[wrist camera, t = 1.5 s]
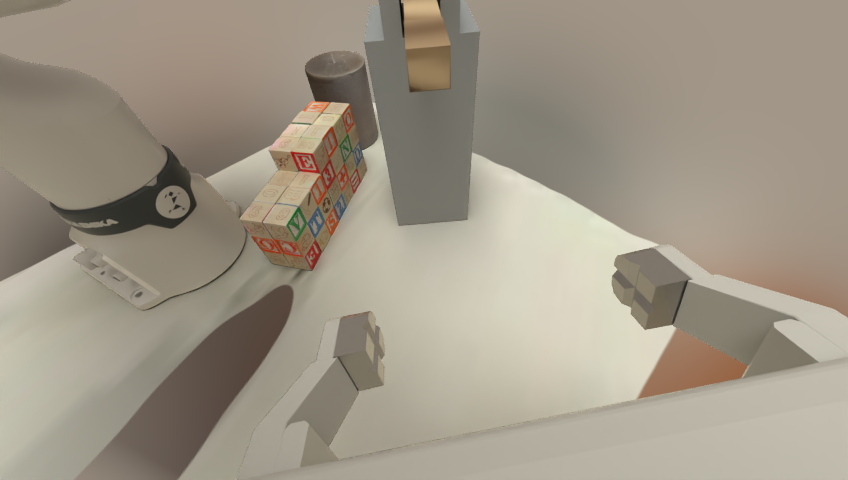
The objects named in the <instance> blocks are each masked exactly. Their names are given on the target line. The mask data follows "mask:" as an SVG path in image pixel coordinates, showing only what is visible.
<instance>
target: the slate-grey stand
mask: <svg viewBox="0 0 848 480" xmlns="http://www.w3.org/2000/svg"><path fill="white" fill-rule="evenodd" d="M437 3H438V6H439V10H440V13H441V17H443V20H444V24H445V27H446V31H447V34H448V37H449V41H450V44H451V89H445V90H433V91H422V92H411V93H410V91H409V81H408V71H407V61H406V51H405V34H404V21H405V20H404V4H403V3H401V0H379V5H376V6H370V8H369V14H368V21H367V27H366V33H365V40H364V44H365V49H366V55H367V60H368V65H369V71H370V76H371V81H372V87H373V92H374V97H375V103H376V108H377V113H378V119H379V124H380V129H381V134H382V140H383V145H384V150H385V156H386V161H387V166H388V172H389V177H390V182H391V187H392V193H393V198H394V203H395V209H396V214H397V219H398V225H399V226H400V225H411V224H423V223H435V222H446V221H458V220H467V214H468V199H469V184H470V169H471V155H472V140H473V125H474V110H475V95H476V81H477V80H476V79H477V66H478V51H479V36H480V31H479V29H478V27H477V25H476V23H475V20H474V18H473V16H472V14H471V12H470V10H469V7H468V5H467V4H466V1H465V0H437Z"/></svg>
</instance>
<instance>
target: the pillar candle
mask: <svg viewBox="0 0 848 480" xmlns="http://www.w3.org/2000/svg"><path fill="white" fill-rule="evenodd" d="M305 72H306V75H307V77H308V81H309V84H310V87H311V90H312V93H313V96H314V99H315V102H329V103H331V102H334V103H348V104H350V106H351V110H352V114H353V118H354V123H355V125H356V128H357V132H358V137H359V142H360V146H361V150H363V149H366V148H368V147H369V146H371V145H372V144H373V143H375V141H376V140H377V137H378V131H377V125H376V120H375V114H374V109H373V104H372V99H371V93H370V88H369V83H368V78H367V72H366V67H365V60H364V58H363V57H362V56H361V55H360V54H359V53H357V52H350V51H333V52H328V53H324V54H321V55H319V56H316V57H314V58H312V59H311V60H310V61H308V62H307V63H306V65H305Z"/></svg>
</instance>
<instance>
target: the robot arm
mask: <svg viewBox="0 0 848 480" xmlns="http://www.w3.org/2000/svg"><path fill="white" fill-rule="evenodd" d="M68 1H70V0H0V17H5V16H10V15H15V14H21V13H26V12H30V11H36V10H41V9H46V8H51V7H56V6H59V5H61V4H63V3H66V2H68ZM0 167H1V168H2V169H4V170H5V171H7V172H8V173H10V174H11V175H13V176H14V177H16V178H17V179H19V180H20V181H22V182H23V183H25V184H26V185H28V186H29V187H31V188H32V189H34V190H35V191H36V192H38V193H39V194H41V195H42V196H44V197H45V198H46V199H48V200H49V202H50V205H51V207H52V208H53V209H54V210H55V211H56V212H57V214H58V215H59V216H60V217H61V218H62V219H63V220H64V221H66V222H67V223H69V224H70V225H72V227H71V230H70V233H69V237H70V239H71V240H73V241H74V242H76V243H77V244H78V245H80V246H81V247H83V248H84V249H85V251H82V252H81V253H79V254H78V255H76V256H75V257H74V259H73V260H75V261H76V262H78V263H80V268H81V269H83V270H84V271H85V272H86V273H88V274H89V275H91V276H92V277H94V278H95V279H96V280H98V281H99V282H101V283H102V284H104V285H105V286H107V287H108V288H109V289H111V290H112V291H114V292H115V293H117V294H118V295H120V296H121V297H123V298H124V299H125V300H127V301H128V302H130V303H131V304H133V305H134V306H136V307H137V308H138V309H140V310H146V309H149V308H151V307H153V306H155V305H157V304H159V303H161V302H162V301H164V300H166V299H168V298H170V297H172V296H175V295H179V294H182V293H186V292H189V291H192V290H194V289H197V288H199V287H201V286H203V285H205V284H207V283H209V282H210V281H212V280H214V279H215V278H216V277H218V276H219V275H221V274H222V273H223V272H224V271H225V270H226V269H227V268H228V267H230V265H231V264H232V263H233V262H234V261H235V260H236V258H237V257H238V256H239V254H240V252H241V250H242V248H243V246H244V243H245V239H246V231H245V228H244V225H243V224H242V222H241V221H240V220H239V215H240V207H239V206H238V205H237V204H236V203H235V202H233V201H225V200H224V199H223V198H222V197H221V196H220V195H219V193H218V192H217V191H216V190H215V189H214V188H213V187H212V186H211V185H210V184H209V183H208V182H207V181H206V179H205V178H204V177H202V176H201V175H200V174H195V173H190V172H189V171H188V170H187V169H186V168H185V166H184V165H183V163H182V161H181V160H180V159H179V158H178V157H177V156H176V155H175V154H173V152H172V151H171V150H170V149H169V148H167V147H166V146H164V145H161V144H160V143H159V142H158V141H157V139H156V138H155V137H154V136H153V135H152V133H151V132H150V131H149V130H148V128H147V127H146V126H145V125H144V124H143V122H142V121H141V120H140V119H139V118H138V117H137V115H136V114H135V113H134V112H133V110H132V109H131V108H130V107H129V106H128V104H127V103H126V102H125V101H124V100H123V98H122V97H121V96H120V95H119V93H117V92H116V91H115V90H114V89H112V88H111V87H110V86H108V85H107V84H105V83H103V82H102V81H100V80H98V79H96V78H94V77H92V76H90V75H87V74H85V73H82V72H79V71H76V70H72V69H68V68H63V67H57V66H50V65H43V64H36V63H30V62H25V61H22V60H18V59H15V58H12V57H10V56H7V55H4V54H2V53H0ZM614 266H615V267H616V268H617V269H618V270H617V271H616V272H615V273H614V275H613V276H612V287H613V291H614V293H615V295H616V297H617V298H618V299H619V301H620V302H621V303H622V304H624V305H627V306H629V307H631V315H632V316H633V317H634V318H635V319H636V320H637V321H638V323H639V324H640V325H641V326H642V327H643V328H644V329H645V330H646V329H652V328H657V327H663V326H668V325H673V324H674V325H673V326H674V327H676V328H678V329H680V330H682V331H684V332H686V333H688V334H690V335H691V336H693V337H695V338H697V339H699V340H701V341H703V342H705V343H706V344H708V345H710V346H712V347H714V348H716V349H718V350H720V351H721V352H723V353H725V354H727V355H729V356H731V357H733V358H735V359H736V360H739V361H740V362H742V363H744V364H746V365H748V367H747V369H746V371H745V372H744V374H743V376H742V378H741V379H736V380H731V381H726V382H721V383H716V384H711V385H706V386H701V387H696V388H692V389H686V390H681V391H676V392H671V393H666V394H661V395H657V396H651V397H647V398H642V399H637V400H632V401H627V402H622V403H617V404H612V405H607V406H602V407H597V408H592V409H587V410H582V411H577V412H572V413H567V414H562V415H558V416H553V417H548V418H543V419H538V420H533V421H528V422H523V423H518V424H513V425H508V426H503V427H499V428H494V429H489V430H484V431H479V432H474V433H469V434H464V435H459V436H454V437H449V438H444V439H439V440H434V441H429V442H424V443H419V444H414V445H410V446H405V447H400V448H395V449H390V450H385V451H380V452H375V453H370V454H365V455H360V456H355V457H350V458H345V459H340V460H339V459H338V458H337V457H336V456H335V455H334V453H333V452H332V451H331V450H330V449H329V445H330V444H331V442H332V440H333V438H334V436H335V435H336V433H337V431H338V429H339V427H340V426H341V424H342V422H343V420H344V419H345V417H346V415H347V413H348V411H349V410H350V408H351V406H352V404H353V402H354V401H355V399H356V397H357V395H358V393H359V392H358V391H362V390H366V389H370V388H374V387H378V386H382V385H384V365H383V363H382V361H381V359H382V358H383V356H384V355H385V347H384V339H383V335H382V332H381V330H380V327H378V326H376V325H375V320H376V318H375V316H374V314H373V312H371V311H369V312H364V313H359V314H353V315H348V316H343V317H340V318H335V319H330V320H327V322H326V323H325V326H324V330H323V334H322V338H321V343H320V347H319V351H318V355H317V360H316V362H313V363H311V364H310V365H309V366H308V368H307V369H306V370H305V371H304V372H303V373H302V375H301V376H300V377H299V378H298V379H297V380H296V382H295V383H294V384H293V385H292V386H291V387H290V389H289V390H288V391H287V392H286V393H285V394H284V396H283V397H282V398H281V399H280V400H279V401H278V403H277V404H276V405H275V406H274V407H273V408H272V410H271V411H270V412H269V413H268V414H267V415H266V417H265V418H264V419H263V420H262V421H261V422H260V424H259V425H258V426H257V427H256V428H255V429H254V432H253V435H252V437H251V440H250V443H249V446H248V449H247V452H246V454H245V457H244V460H243V463H242V466H241V469H240V471H239V474H238V477H237V480H848V318H847V317H846V316H844V315H842V314H841V313H839V312H837V311H836V310H834V309H832V308H829V307H825V306H822V305H818V304H815V303H812V302H808V301H805V300H801V299H798V298H795V297H792V296H788V295H785V294H781V293H778V292H775V291H771V290H768V289H764V288H761V287H758V286H754V285H751V284H747V283H745V282H741V281H738V280H734V279H731V278H728V277H724V276H721V275H718V274H716V275H710V274H709V273H708V272H706V271H705V270H704V269H702V268H701V267H700V266H698V265H697V264H695V263H694V262H693V261H691V260H690V259H689V258H688V257H686V256H685V255H683V254H682V253H681V252H679V251H678V250H677V249H675V248H674V247H672V246H671V245H667V244H664V245H660V246H656V247H652V248H649V249H643V250H639V251H635V252H631V253H626V254H622V255H618V256H617V257H616V259H615V262H614Z"/></svg>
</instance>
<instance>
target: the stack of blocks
mask: <svg viewBox="0 0 848 480" xmlns="http://www.w3.org/2000/svg"><path fill="white" fill-rule="evenodd" d="M269 152H270V154H271V156H272V158H273V160H274V162H275V164H276V166H277V168H278V171H277V172H276V173H275V174H274V176H273V177H272V178H271V180H270V181H269V182H268V184H267V185H265V186H264V188H263V189H262V190H261V191H260V193H259V194H258V195H257V196H256V198H255V199H254V200H253V202H252V203H251V205H250V206H249V207H248V208H247V209H246V211H245V212H244V213H243V215H242V216H241V217H240V218H239V220H240V221H241V222H242V224H243V225H244V227H245V228H246V229H247V231H248V232H249V233H250V235H251V237H252V238H253V240H254V241H255V242H256V244H257V245H258V246H259V247H260V249H261V250H262V251H263V252H264V254H265V255H266V256H267V257H268V259H269V260H270V261H271V262H272V263H273V264H278V265H283V266H289V267H293V268H299V269H305V270H312V269H313V268H314V266H315V264H316V262H317V260H318V258H319V256H320V254H321V252H323V250H324V248H325V246H326V245H327V243H328V241H329V239H330V237H331V235H332V234H333V232H334V230H335V228H336V226H337V225H338V223H339V220H340V218H341V216H342V215H343V213H344V211H345V209H346V207H347V205H348V203H349V201H350V200H351V198H352V196H353V194H354V193H355V191H356V189H357V187H358V186H359V184H360V182H361V180H362V179H363V177H364V175H365V173H366V171H367V169H366V165H365V161H364V157H363V154H362V150H361V146H360V142H359V137H358V132H357V128H356V125H355V123H354V118H353V114H352V110H351V106H350V104H348V103H334V102H331V103H329V102H313V101H312V102H310V104H309V105H308V106H307V107H306V108H305V109H304V110H303V111H301V112H300V113H299V114H298V115H297V116H296V118H295V119H294V120H293V121H292V124H290V125H289V126H288V127H287V128H286V129H285V131H284V132H283V133H282V134H281V137H279V138H278V139H277V140H276V142H275V143H274V144H273V145H272V146H271V147H270V149H269Z"/></svg>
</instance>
